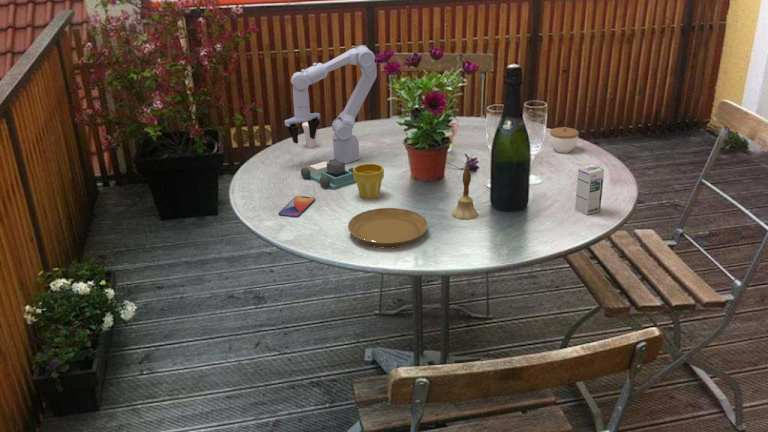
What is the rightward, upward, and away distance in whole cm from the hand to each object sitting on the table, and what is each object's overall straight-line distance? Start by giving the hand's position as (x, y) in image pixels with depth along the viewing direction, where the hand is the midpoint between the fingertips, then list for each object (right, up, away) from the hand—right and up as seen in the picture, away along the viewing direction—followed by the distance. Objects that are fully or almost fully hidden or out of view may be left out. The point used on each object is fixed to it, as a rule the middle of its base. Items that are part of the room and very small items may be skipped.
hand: (304, 140), depth 272 cm
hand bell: (+56, -28, -41) cm, 75 cm away
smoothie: (+1, 0, +23) cm, 23 cm away
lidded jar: (+100, -3, +11) cm, 101 cm away
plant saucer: (+31, -34, -52) cm, 70 cm away
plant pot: (+25, -21, -25) cm, 41 cm away
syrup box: (+95, -27, -41) cm, 107 cm away
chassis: (+10, -15, -10) cm, 21 cm away
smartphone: (+1, -26, -33) cm, 42 cm away
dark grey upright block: (+13, -15, -14) cm, 24 cm away
